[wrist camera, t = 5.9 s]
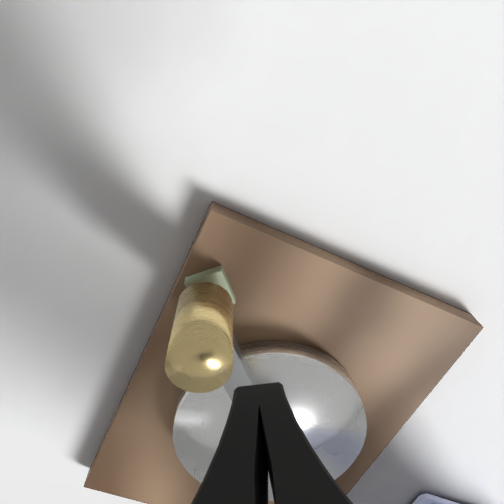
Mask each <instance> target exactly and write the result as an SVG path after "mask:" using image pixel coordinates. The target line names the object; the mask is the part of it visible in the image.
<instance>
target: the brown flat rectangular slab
mask: <svg viewBox="0 0 504 504" xmlns="http://www.w3.org/2000/svg"><path fill="white" fill-rule="evenodd" d="M199 282H211V283H215V284H217V285H220V286H221V287H223V288H224V289H225V290H226V291H227V292H228V293H229V294H230V296H231V298H232V302H233V333H234V336H235V338H236V340H237V342H238V344H239V346H240V345H243V344H247V343H253V342H259V341H287V342H293V343H299V344H302V345H306V346H309V347H312V348H314V349H317V350H319V351H321V352H323V353H325V354H327V355H328V356H330V357H332V358H333V359H334V360H335V361H337V362H338V363H339V364H340V365H341V366H342V367H343V368H344V369H345V370H346V371H347V372H348V374H349V375H350V377H351V378H352V380H353V382H354V384H355V386H356V388H357V391H358V394H359V396H360V399H361V402H362V404H363V407H364V410H365V414H366V420H367V431H366V437H365V441H364V444H363V447H362V449H361V451H360V453H359V455H358V456H357V458H356V459H355V461H354V462H353V463H352V465H351V466H350V467H349V468H348V469H347V470H346V471H345V472H344V473H343V474H342V475H341V476H339V477H338V478H337V479H335V481H336V483H337V484H338V485H339V487H340V488H341V489H342V491H343V492H344V493H345V495H347V493H348V492H349V491H350V490H351V489H352V487H353V486H354V485H355V484H356V482H357V481H358V480H359V479H360V478H361V476H362V475H363V474H364V473H365V471H366V470H367V469H368V468H369V467H370V465H371V464H372V463H373V462H374V460H375V459H376V458H377V457H378V456H379V454H380V453H381V452H382V451H383V450H384V448H385V447H386V446H387V445H388V443H389V442H390V441H391V440H392V439H393V437H394V436H395V435H396V434H397V432H398V431H399V430H400V429H401V428H402V426H403V425H404V424H405V423H406V421H407V420H408V419H409V418H410V417H411V415H412V414H413V413H414V412H415V410H416V409H417V408H418V407H419V406H420V404H421V403H422V402H423V401H424V399H425V398H426V397H427V396H428V395H429V393H430V392H431V391H432V390H433V388H434V387H435V386H436V385H437V384H438V382H439V381H440V380H441V379H442V377H443V376H444V375H445V374H446V373H447V371H448V370H449V369H450V368H451V367H452V365H453V364H454V363H455V362H456V360H457V359H458V358H459V357H460V356H461V354H462V353H463V352H464V351H465V349H466V348H467V347H468V346H469V345H470V343H471V342H472V341H473V340H474V338H475V337H476V336H477V335H478V334H479V332H480V331H481V330H482V329H483V326H482V325H481V324H480V323H479V322H478V321H477V320H476V319H475V318H474V317H473V316H472V314H469V313H467V312H465V311H462V310H460V309H458V308H455V307H453V306H451V305H449V304H446V303H444V302H442V301H439V300H437V299H435V298H432V297H430V296H428V295H426V294H423V293H421V292H419V291H416V290H414V289H412V288H410V287H407V286H405V285H403V284H400V283H398V282H396V281H393V280H391V279H389V278H387V277H384V276H382V275H380V274H377V273H375V272H373V271H371V270H368V269H366V268H364V267H361V266H359V265H357V264H354V263H352V262H350V261H348V260H345V259H343V258H341V257H338V256H336V255H334V254H331V253H329V252H327V251H325V250H322V249H320V248H318V247H315V246H313V245H311V244H309V243H306V242H304V241H302V240H299V239H297V238H295V237H292V236H290V235H288V234H286V233H283V232H281V231H279V230H276V229H274V228H272V227H269V226H267V225H265V224H263V223H260V222H258V221H256V220H253V219H251V218H249V217H247V216H244V215H242V214H240V213H237V212H235V211H233V210H230V209H228V208H226V207H224V206H221V205H219V204H217V203H214V202H212V203H211V205H210V207H209V209H208V211H207V214H206V216H205V218H204V220H203V222H202V225H201V227H200V229H199V231H198V233H197V236H196V238H195V240H194V242H193V244H192V246H191V249H190V251H189V253H188V255H187V257H186V260H185V262H184V264H183V266H182V268H181V271H180V273H179V275H178V277H177V279H176V281H175V284H174V286H173V288H172V290H171V292H170V295H169V297H168V299H167V301H166V303H165V305H164V308H163V310H162V312H161V314H160V316H159V319H158V321H157V323H156V325H155V327H154V330H153V332H152V334H151V336H150V338H149V340H148V343H147V345H146V347H145V349H144V351H143V354H142V356H141V358H140V360H139V362H138V365H137V367H136V369H135V371H134V373H133V375H132V378H131V380H130V382H129V384H128V386H127V389H126V391H125V393H124V395H123V397H122V400H121V402H120V404H119V406H118V408H117V410H116V413H115V415H114V417H113V419H112V421H111V424H110V426H109V428H108V430H107V432H106V434H105V437H104V439H103V441H102V443H101V445H100V448H99V450H98V452H97V454H96V456H95V459H94V461H93V463H92V465H91V467H90V470H89V473H88V475H87V478H86V481H85V484H84V487H86V488H90V489H94V490H98V491H102V492H105V493H109V494H113V495H117V496H121V497H124V498H128V499H132V500H136V501H140V502H143V503H147V504H191V503H192V501H193V499H194V497H195V495H196V493H197V491H198V489H199V487H200V485H201V483H200V482H198V481H197V480H196V479H194V478H193V477H192V476H191V475H190V474H189V473H188V472H187V470H186V469H185V468H184V466H183V465H182V464H181V462H180V460H179V458H178V456H177V454H176V451H175V448H174V443H173V426H174V419H175V413H176V407H177V402H178V398H179V395H180V393H181V390H182V389H181V388H179V387H177V386H176V385H174V384H173V383H172V382H171V381H170V379H169V378H168V376H167V374H166V371H165V359H166V354H167V350H168V345H169V341H170V336H171V331H172V327H173V322H174V318H175V313H176V309H177V304H178V300H179V297H180V295H181V293H182V292H183V291H184V290H185V289H186V288H187V287H189V286H190V285H192V284H195V283H199ZM268 504H274V501H268Z"/></svg>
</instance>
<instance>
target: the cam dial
mask: <svg viewBox="0 0 504 504" xmlns="http://www.w3.org/2000/svg"><path fill="white" fill-rule="evenodd" d="M165 371H166V374H167V376H168V378H169V379H170V381H171V382H172V383H173V384H174V385H176V386H177V387H179V388H181V389H182V390H181V393H180V395H179V398H178V402H177V407H176V413H175V419H174V426H173V443H174V448H175V451H176V454H177V456H178V458H179V460H180V462H181V464H182V465H183V466H184V468H185V469H186V470H187V472H188V473H189V474H190V475H191V476H192V477H193V478H194V479H196V480H197V481H198V482H200V483H202V481H203V479H204V477H205V475H206V472H207V470H208V468H209V465H210V463H211V461H212V459H213V456H214V454H215V452H216V449H217V447H218V444H219V441H220V438H221V436H222V433H223V430H224V427H225V425H226V421H227V418H228V415H229V411H230V408H231V404H232V399H233V394H234V390H235V389H236V388H237V387H240V386H249V385H257V384H266V383H274V382H279V383H281V384H282V385H283V388H284V391H285V394H286V397H287V400H288V402H289V405H290V407H291V409H292V411H293V413H294V415H295V417H296V419H297V421H298V423H299V425H300V427H301V429H302V430H303V432H304V434H305V436H306V437H307V439H308V441H309V443H310V444H311V446H312V448H313V449H314V451H315V452H316V454H317V455H318V457H319V458H320V460H321V462H322V463H323V465H324V466H325V467H326V469H327V470H328V472H329V473H330V475H331V476H332V477H333V479H334V480H335V479H337V478H338V477H339V476H341V475H342V474H343V473H344V472H345V471H346V470H347V469H348V468H349V467H350V466H351V465H352V463H353V462H354V461H355V459H356V458H357V456H358V455H359V453H360V451H361V449H362V447H363V444H364V441H365V437H366V431H367V420H366V414H365V410H364V407H363V404H362V402H361V399H360V396H359V394H358V391H357V388H356V386H355V384H354V382H353V380H352V378H351V377H350V375H349V374H348V372H347V371H346V370H345V369H344V368H343V367H342V366H341V365H340V364H339V363H338V362H337V361H335V360H334V359H333V358H332V357H330V356H328V355H327V354H325V353H323V352H321V351H319V350H317V349H314V348H312V347H309V346H306V345H302V344H299V343H293V342H287V341H259V342H253V343H247V344H243V345H240V346H239V344H238V342H237V340H236V338H235V336H234V333H233V302H232V298H231V296H230V294H229V293H228V292H227V291H226V290H225V289H224V288H223V287H221V286H220V285H217V284H215V283H211V282H199V283H195V284H192V285H190V286H189V287H187V288H186V289H185V290H184V291H183V292H182V293H181V295H180V297H179V300H178V304H177V309H176V313H175V318H174V322H173V327H172V331H171V336H170V341H169V345H168V350H167V354H166V359H165ZM268 501H274V499H273V493H272V488H271V482H270V477H269V471H268Z"/></svg>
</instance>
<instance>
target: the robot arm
mask: <svg viewBox="0 0 504 504" xmlns="http://www.w3.org/2000/svg"><path fill="white" fill-rule="evenodd" d="M268 471H269V477H270V482H271V488H272V493H273V499H274V504H353V503H352V502H351V501H350V500H349V498H348V497H347V496H346V495H345V493H344V492H343V491H342V489H341V488H340V487H339V485H338V484H337V483H336V481H335V480H334V479H333V477H332V476H331V475H330V473H329V472H328V470H327V469H326V467H325V466H324V465H323V463H322V462H321V460H320V458H319V457H318V455H317V454H316V452H315V451H314V449H313V448H312V446H311V444H310V443H309V441H308V439H307V437H306V436H305V434H304V432H303V430H302V429H301V427H300V425H299V423H298V421H297V419H296V417H295V415H294V413H293V411H292V409H291V407H290V405H289V402H288V400H287V397H286V394H285V391H284V388H283V385H282V384H281V383H279V382H274V383H266V384H257V385H249V386H240V387H237V388H236V389H235V390H234V394H233V399H232V404H231V408H230V411H229V415H228V418H227V421H226V425H225V427H224V430H223V433H222V436H221V438H220V441H219V444H218V447H217V449H216V452H215V454H214V456H213V459H212V461H211V463H210V465H209V468H208V470H207V472H206V475H205V477H204V479H203V481H202V483H201V485H200V487H199V489H198V491H197V493H196V495H195V497H194V499H193V501H192V503H191V504H268ZM412 504H459V503H456V502H453V501H450V500H447V499H443V498H440V497H437V496H434V495H431V494H427V493H425V494H421V495H420V496H419V497H418V498H417V499H416V500H415V501H414V502H413V503H412Z"/></svg>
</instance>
